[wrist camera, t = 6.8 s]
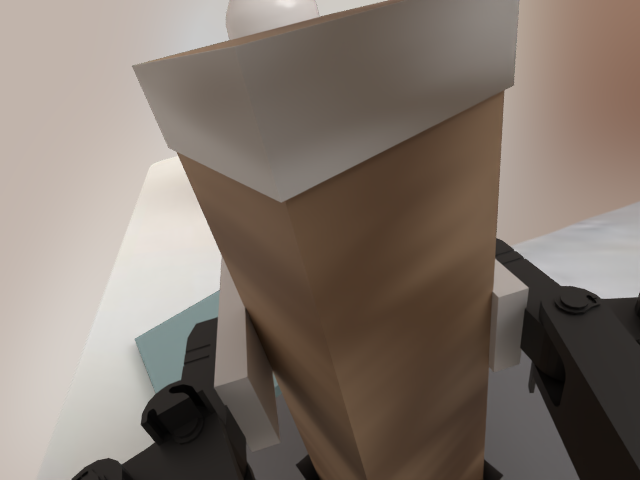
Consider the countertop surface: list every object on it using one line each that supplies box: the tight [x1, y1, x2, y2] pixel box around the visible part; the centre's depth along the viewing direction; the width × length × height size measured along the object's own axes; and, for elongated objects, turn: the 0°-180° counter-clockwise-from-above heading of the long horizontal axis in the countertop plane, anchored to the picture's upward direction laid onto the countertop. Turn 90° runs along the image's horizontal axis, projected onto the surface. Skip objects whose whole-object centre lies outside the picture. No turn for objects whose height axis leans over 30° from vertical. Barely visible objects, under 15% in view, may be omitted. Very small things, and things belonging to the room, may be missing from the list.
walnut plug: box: [132, 0, 519, 480], centre depth 11 cm, size 5×5×18 cm
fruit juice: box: [226, 0, 319, 40], centre depth 38 cm, size 9×9×28 cm
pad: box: [135, 290, 282, 397], centre depth 27 cm, size 16×12×1 cm
